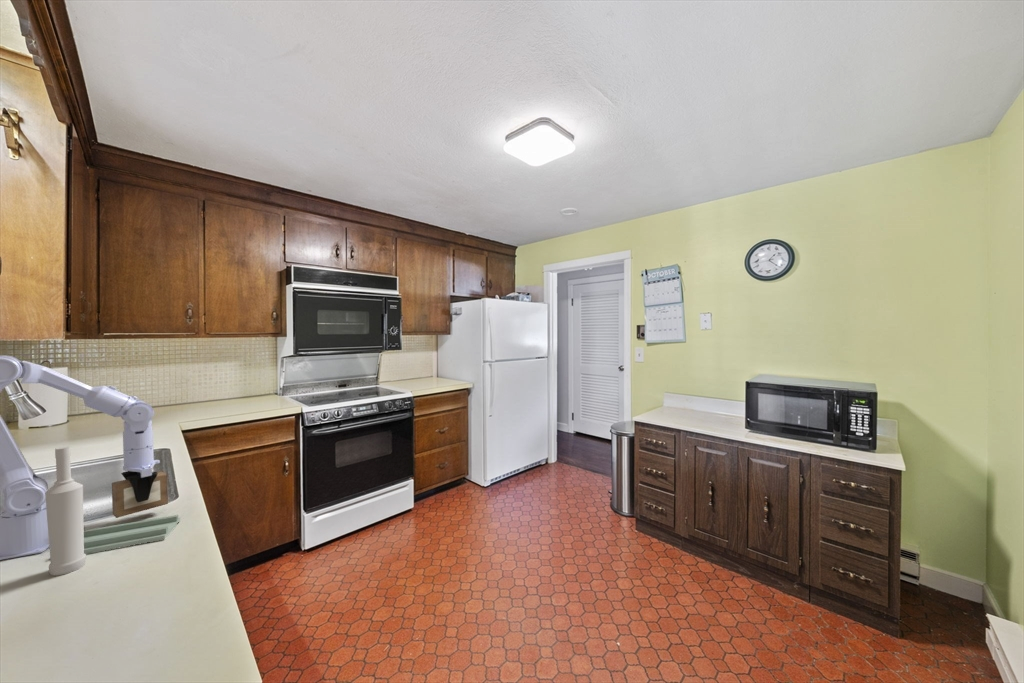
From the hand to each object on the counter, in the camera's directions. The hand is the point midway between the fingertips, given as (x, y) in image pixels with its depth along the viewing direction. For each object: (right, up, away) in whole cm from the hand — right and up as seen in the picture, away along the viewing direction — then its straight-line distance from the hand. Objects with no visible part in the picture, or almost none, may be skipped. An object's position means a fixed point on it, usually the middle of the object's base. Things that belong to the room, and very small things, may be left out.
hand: (140, 499), depth 104 cm
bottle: (+6, -6, -22) cm, 24 cm away
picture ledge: (+6, -5, -10) cm, 13 cm away
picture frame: (0, -3, 0) cm, 3 cm away
